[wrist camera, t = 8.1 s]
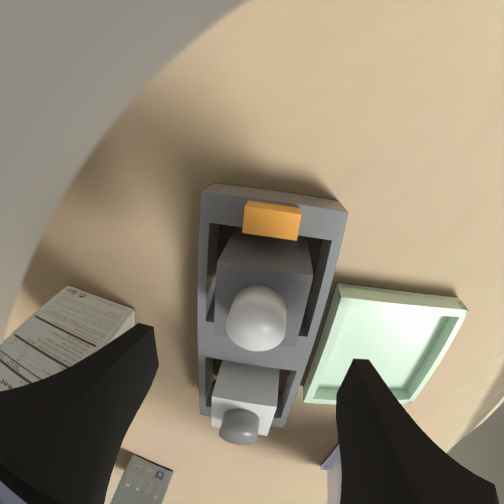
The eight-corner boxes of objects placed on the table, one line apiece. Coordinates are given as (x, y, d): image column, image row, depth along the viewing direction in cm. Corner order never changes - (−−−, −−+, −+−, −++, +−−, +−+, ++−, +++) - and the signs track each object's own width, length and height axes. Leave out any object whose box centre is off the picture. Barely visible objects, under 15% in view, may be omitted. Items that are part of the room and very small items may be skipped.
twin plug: (272, 386, 21) (265, 452, 15) (224, 378, 21) (206, 443, 15) (280, 353, 20) (275, 426, 14) (226, 344, 20) (206, 415, 14)
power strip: (284, 405, 22) (282, 439, 19) (206, 393, 22) (196, 425, 19) (339, 201, 15) (353, 219, 11) (214, 183, 15) (193, 197, 12)
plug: (294, 294, 17) (294, 369, 12) (231, 284, 18) (205, 355, 12) (306, 235, 16) (316, 295, 10) (237, 224, 16) (208, 277, 10)
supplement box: (142, 369, 22) (83, 481, 11) (79, 343, 23) (11, 431, 11) (138, 307, 20) (44, 438, 8) (66, 281, 20) (-33, 372, 8)
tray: (407, 389, 20) (411, 403, 18) (303, 386, 21) (303, 402, 19) (458, 297, 16) (468, 310, 14) (337, 282, 17) (341, 297, 15)
